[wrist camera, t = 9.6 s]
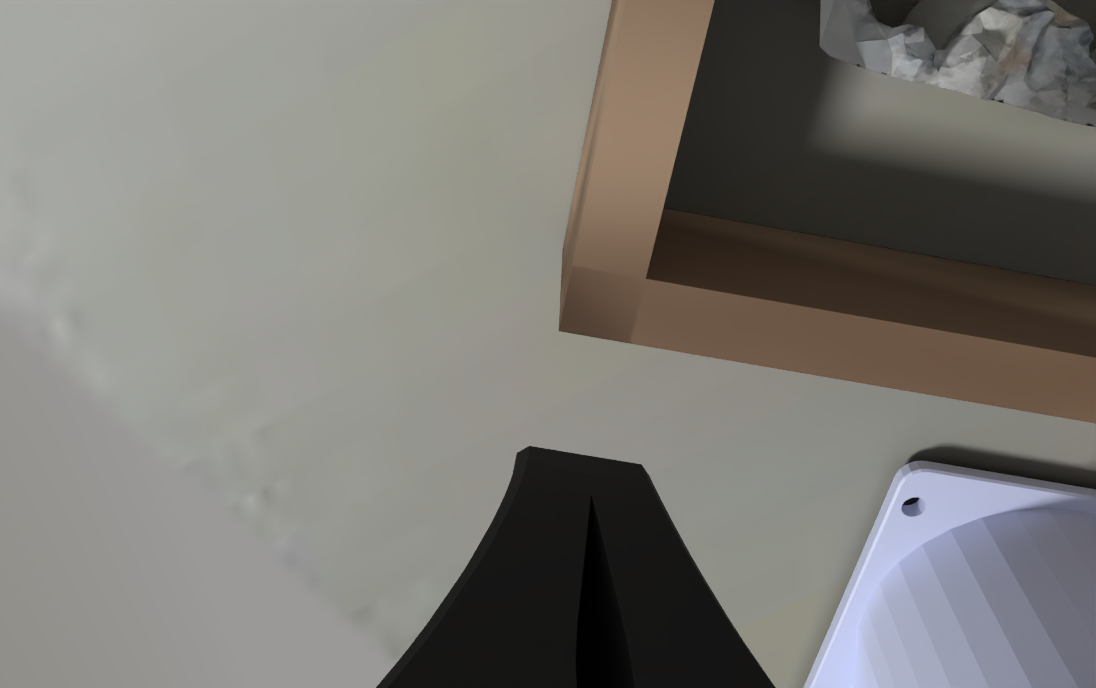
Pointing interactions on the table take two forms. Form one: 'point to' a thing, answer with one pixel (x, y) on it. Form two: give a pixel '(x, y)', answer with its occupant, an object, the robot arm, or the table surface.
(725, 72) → the table surface
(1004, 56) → the egg carton
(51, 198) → the table surface
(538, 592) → the robot arm
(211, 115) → the table surface
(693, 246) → the walnut u-shaped frame
